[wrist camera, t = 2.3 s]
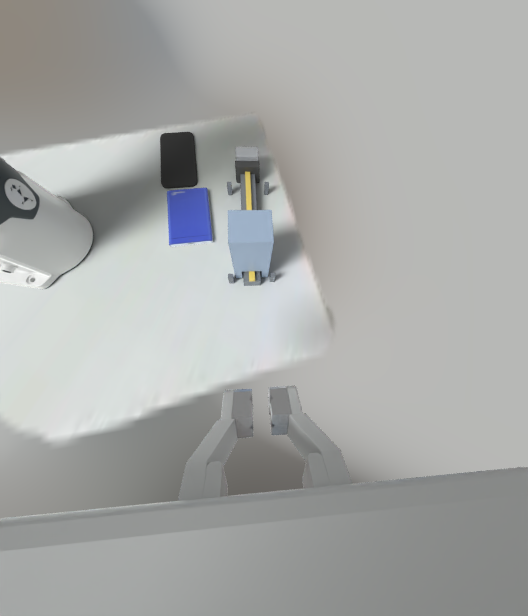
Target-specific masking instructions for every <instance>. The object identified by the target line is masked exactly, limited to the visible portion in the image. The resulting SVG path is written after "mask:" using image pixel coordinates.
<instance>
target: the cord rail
mask: <svg viewBox="0 0 528 616" xmlns="http://www.w3.org/2000/svg"><path fill="white" fill-rule="evenodd" d="M235 169H236V179H237V183H241V210H257V205H256V186H255V183H259V161H258V147H236V161H235ZM227 188H228V194H229V195H232V185H231V182H227ZM268 189H269V182H265V185H264V195H268ZM243 274H244V286H252V285H260V282H261V280H260V271H247V272H243ZM275 277H276V276H275V273H271V274H270V282H274V281H275ZM228 279H229V283H234V277H233V274H228Z"/></svg>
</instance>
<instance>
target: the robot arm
mask: <svg viewBox="0 0 528 616" xmlns="http://www.w3.org/2000/svg"><path fill="white" fill-rule="evenodd" d="M92 240H93V231H92V227H91V225H90V223H89V221H88V220H87V219H86V218H85V217H84V216H83V215H81V214H80V213H78V212H76V211H75V210H74V209H73V208H72V207H71V205H70V203H69V202H68V201H67V200H65V199H64V198H62V197H60V196H57V197H56V196H54V195H53V194H51V193H50V192H49V191H47V190H46V189H44V188H43V187H42V186H40V185H39V184H37V183H36V182H34V181H33V180H32V179H30V178H29V177H27V176H26V175H24V174H23V173H21V172H19V171H16V170H15V169H14V168H12V167H11V166H10V165H9V164H7V163H6V162H5V160H3V159H2V158H1V157H0V283H3V284H10V285H17V286H23V287H30V288H37V289H45V288H47V287H48V286H50V285H51V284H52V283H53V282H54V281H55V280H56V279H57V277H58V276H60V275H61V274H63V273H65V272H67V271H68V270H70V269H72V268H73V267H75V266H76V265H77V264H78V263H80V262H81V261H82V260H83V258H84V257H85V256H86V255H87V253H88V251H89V249H90V247H91V244H92ZM268 392H269V397H268V398H269V399H268V402H269V414H270V425H271V434H272V435H286V434H287V436H288V437H289V438H290V440H291V441H292V443H293V444H294V446H295V447H296V448H297V450H298V451H299V453H300V454H301V456H302V457H303V458H304V460H305V461H306V465H305V470H304V474H303V479H302V481H303V486H304V489H294V490H285V491H274V492H263V493H253V494H243V495H234V496H227V488H228V486H227V482H226V478H225V473H224V469H223V466H224V464H225V462H226V461H227V459H228V457H229V455H230V453H231V451H232V449H233V447H234V445H235V443H236V441H237V438H246V437H253V404H252V389H237V390H225V391H224V396H223V404H222V413H221V420H217V422H216V423H215V425H214V426H213V427H212V429H211V430H210V431H209V433H208V434H207V435H206V437H205V438H204V440H203V441H202V443H201V444H200V445H199V446H198V448H197V450H196V451H195V452H194V453H193V455H192V456H191V457H190V459H189V460H188V461H187V463H186V467H185V471H184V476H183V480H182V484H181V489H180V494H179V498H178V501H172V502H163V503H153V504H142V505H132V506H122V507H112V508H101V509H91V510H81V511H72V512H61V513H51V514H42V515H32V516H21V517H11V518H2V519H0V616H528V467H517V468H508V469H497V470H487V471H477V472H467V473H457V474H447V475H437V476H426V477H416V478H406V479H396V480H386V481H375V482H365V483H355V484H353V483H352V480H351V478H350V475H349V472H348V469H347V467H346V464H345V461H344V459H343V456H342V453H341V450H340V449H339V448H338V447H337V446H336V445H335V444H334V443H333V442H332V441H331V440H330V439H329V437H328V436H327V435H326V434H325V433H324V432H323V431H322V430H321V429H320V428H319V427H318V426H317V425H316V424H315V423H314V422H313V421H312V420H311V419H310V417H309V416H308V415H307V414H306V413H303V412H302V408H301V405H300V401H299V397H298V393H297V389H296V386H280V387H270V388H269V391H268Z"/></svg>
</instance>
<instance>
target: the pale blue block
mask: <svg viewBox="0 0 528 616" xmlns="http://www.w3.org/2000/svg"><path fill="white" fill-rule="evenodd" d="M228 244H229V248H230V253H231V258H232V262H233V267H234V271H235V276H236V278H242V272H247V271H261V277H268V273H269V267H270V261H271V255H272V250H273V244H274V238H273V224H272V211H271V210H228Z"/></svg>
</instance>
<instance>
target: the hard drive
mask: <svg viewBox="0 0 528 616" xmlns="http://www.w3.org/2000/svg"><path fill="white" fill-rule="evenodd" d="M167 202H168V225H169V245H170V247H177V246H186V245H195V244H205V243H213V236H212V226H211V216H210V206H209V197H208V190H207V188H194V189H183V190H171V191H167Z"/></svg>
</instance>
